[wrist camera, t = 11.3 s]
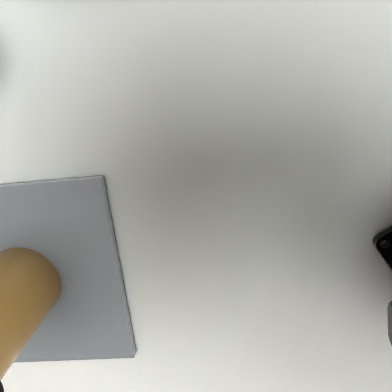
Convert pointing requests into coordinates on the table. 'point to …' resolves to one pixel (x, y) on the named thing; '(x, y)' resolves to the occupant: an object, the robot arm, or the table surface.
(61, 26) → the table surface
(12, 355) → the vial
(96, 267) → the tile
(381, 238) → the robot arm
